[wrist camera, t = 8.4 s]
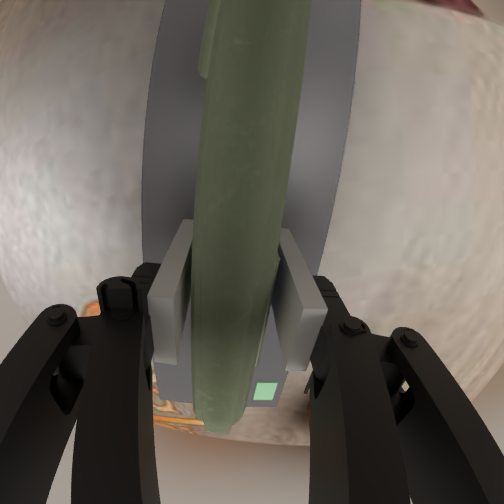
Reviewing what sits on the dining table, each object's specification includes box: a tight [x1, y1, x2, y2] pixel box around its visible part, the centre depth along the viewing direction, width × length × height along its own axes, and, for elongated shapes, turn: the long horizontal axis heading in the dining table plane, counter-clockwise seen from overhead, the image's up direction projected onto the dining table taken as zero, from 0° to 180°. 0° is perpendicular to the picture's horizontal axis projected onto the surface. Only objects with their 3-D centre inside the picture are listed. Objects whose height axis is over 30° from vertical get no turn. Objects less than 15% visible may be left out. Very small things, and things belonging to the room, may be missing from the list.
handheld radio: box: [191, 0, 312, 434], centre depth 12 cm, size 7×3×25 cm
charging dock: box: [142, 0, 361, 407], centre depth 14 cm, size 38×10×2 cm, turn 173°
